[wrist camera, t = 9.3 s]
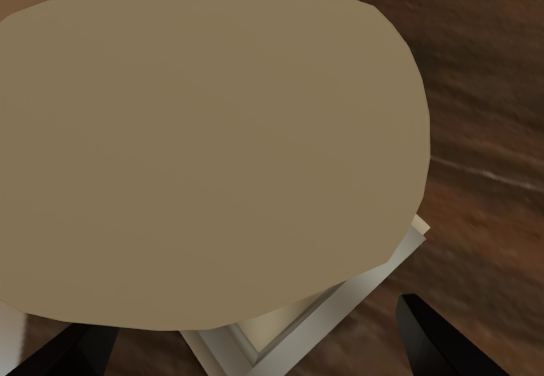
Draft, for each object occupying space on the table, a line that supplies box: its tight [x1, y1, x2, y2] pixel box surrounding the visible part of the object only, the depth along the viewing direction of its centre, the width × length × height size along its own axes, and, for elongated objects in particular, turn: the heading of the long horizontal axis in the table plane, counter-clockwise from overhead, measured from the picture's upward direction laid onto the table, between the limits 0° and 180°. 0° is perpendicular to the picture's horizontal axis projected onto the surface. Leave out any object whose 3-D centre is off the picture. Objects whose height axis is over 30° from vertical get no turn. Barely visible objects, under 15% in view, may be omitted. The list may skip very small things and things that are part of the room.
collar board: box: [179, 214, 430, 376], centre depth 17 cm, size 16×13×4 cm
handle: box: [0, 0, 430, 331], centre depth 11 cm, size 5×6×15 cm
